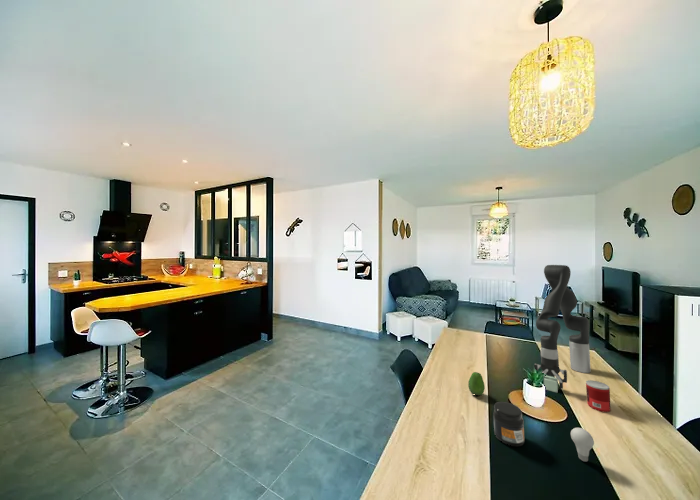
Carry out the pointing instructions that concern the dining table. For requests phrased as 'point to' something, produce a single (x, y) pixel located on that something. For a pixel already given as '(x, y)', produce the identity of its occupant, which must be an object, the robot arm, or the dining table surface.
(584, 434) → the lightbulb
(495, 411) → the supplement container
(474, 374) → the avocado
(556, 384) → the sage block
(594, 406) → the canned food
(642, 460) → the dining table surface
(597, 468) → the dining table surface
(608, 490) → the dining table surface
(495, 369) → the dining table surface
